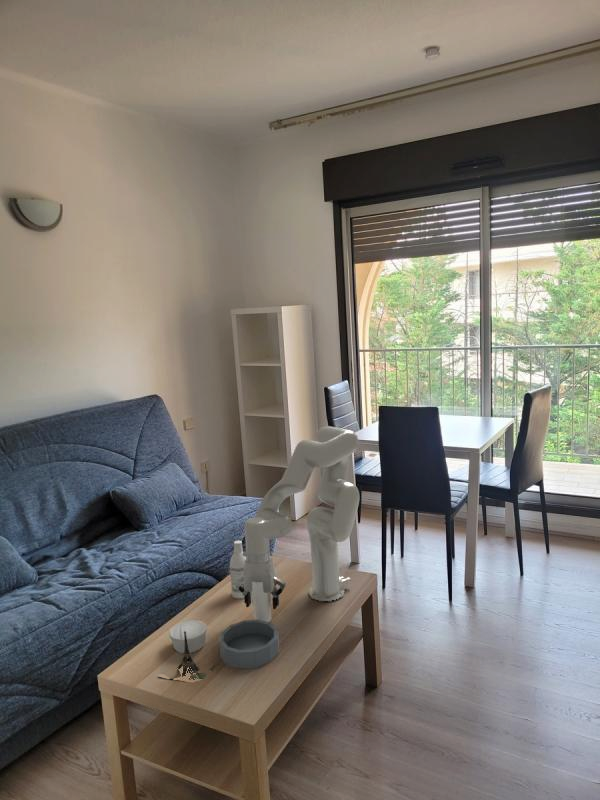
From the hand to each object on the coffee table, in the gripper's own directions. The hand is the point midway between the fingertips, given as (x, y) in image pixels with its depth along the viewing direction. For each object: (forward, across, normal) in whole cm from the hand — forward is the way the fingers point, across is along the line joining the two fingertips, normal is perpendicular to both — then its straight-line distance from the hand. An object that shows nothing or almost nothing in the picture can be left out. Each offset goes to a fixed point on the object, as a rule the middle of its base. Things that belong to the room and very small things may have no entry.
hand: (262, 606), depth 190 cm
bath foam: (+5, -13, +16) cm, 22 cm away
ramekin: (+6, -18, -17) cm, 26 cm away
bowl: (+5, +1, -17) cm, 18 cm away
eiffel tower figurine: (+6, -13, -29) cm, 33 cm away
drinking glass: (+5, 0, 0) cm, 5 cm away
